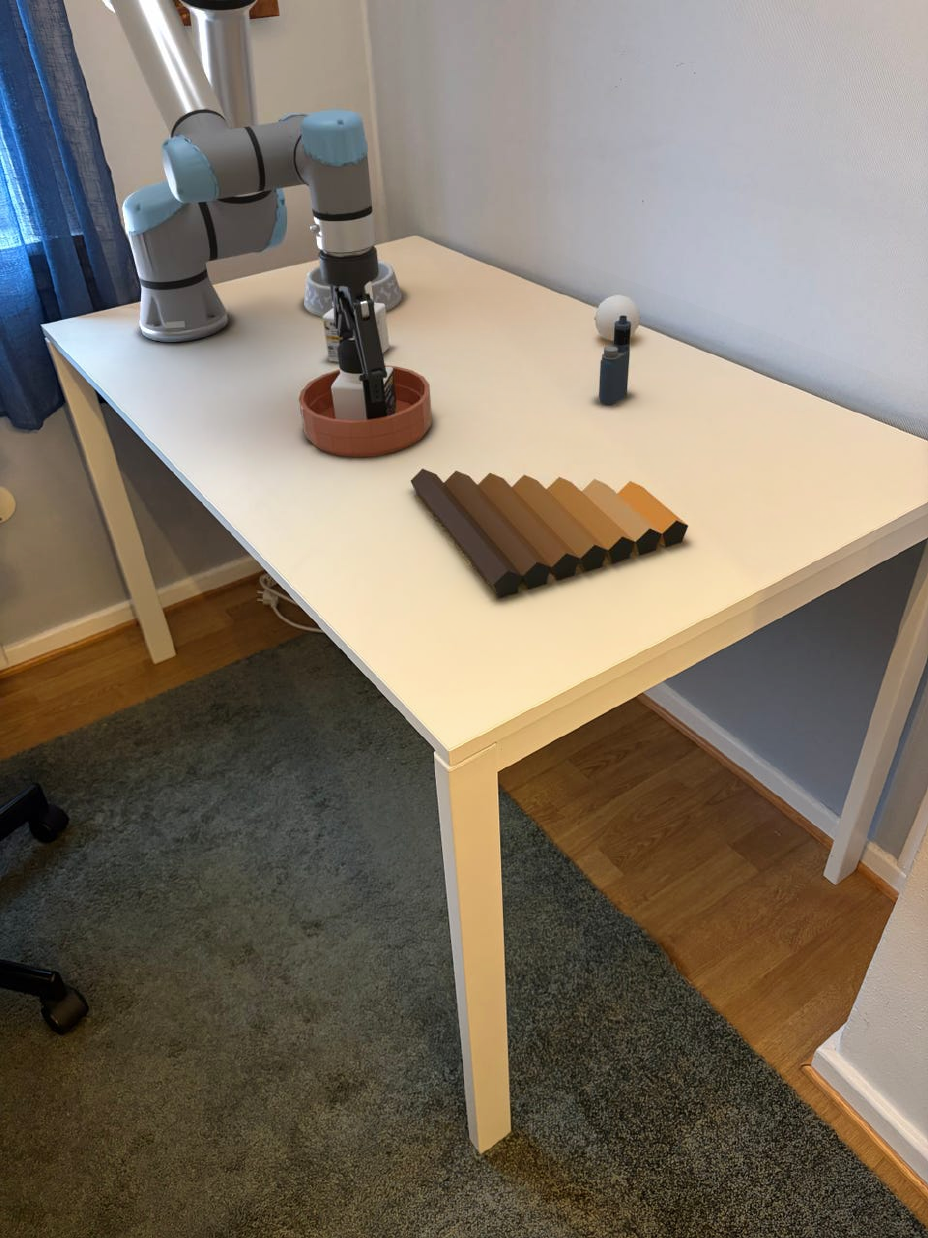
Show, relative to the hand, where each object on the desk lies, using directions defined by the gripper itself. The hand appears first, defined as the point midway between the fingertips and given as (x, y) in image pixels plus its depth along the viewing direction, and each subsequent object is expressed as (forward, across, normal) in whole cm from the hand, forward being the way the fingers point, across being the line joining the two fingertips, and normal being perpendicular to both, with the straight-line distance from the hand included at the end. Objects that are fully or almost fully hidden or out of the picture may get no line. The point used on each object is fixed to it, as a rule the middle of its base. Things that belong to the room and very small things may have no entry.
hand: (365, 400), depth 135 cm
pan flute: (+4, +32, +14) cm, 35 cm away
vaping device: (+4, +6, +36) cm, 37 cm away
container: (+4, -26, +5) cm, 27 cm away
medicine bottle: (+4, 0, 0) cm, 4 cm away
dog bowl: (+4, -51, +10) cm, 52 cm away
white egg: (+4, -15, +46) cm, 49 cm away
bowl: (+4, 0, 0) cm, 4 cm away
